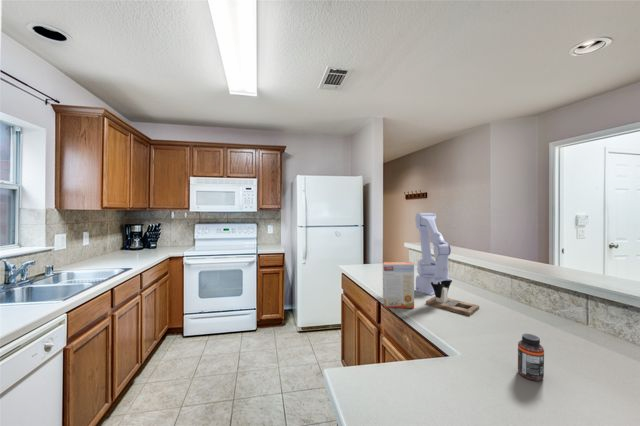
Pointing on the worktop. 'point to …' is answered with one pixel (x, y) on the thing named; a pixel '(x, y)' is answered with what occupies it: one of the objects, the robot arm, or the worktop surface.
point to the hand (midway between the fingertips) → (441, 295)
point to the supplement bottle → (531, 357)
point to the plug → (443, 296)
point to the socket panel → (454, 306)
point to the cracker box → (398, 284)
